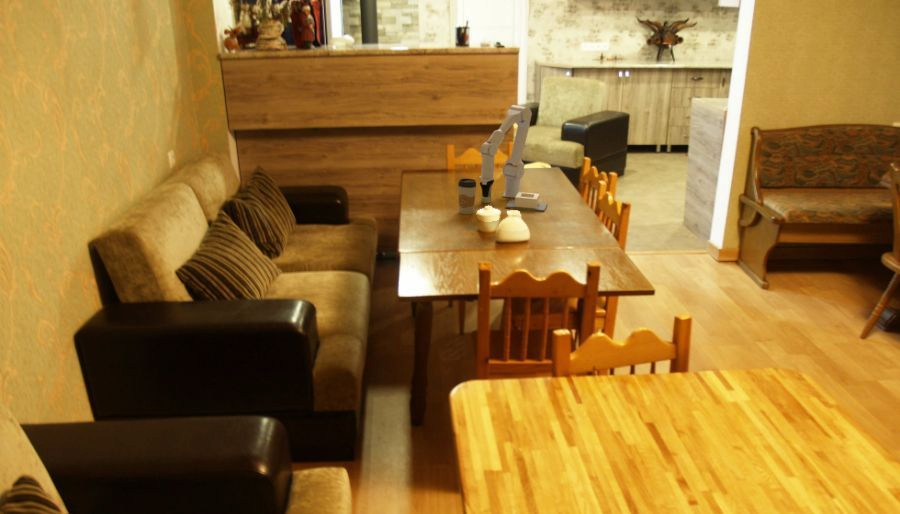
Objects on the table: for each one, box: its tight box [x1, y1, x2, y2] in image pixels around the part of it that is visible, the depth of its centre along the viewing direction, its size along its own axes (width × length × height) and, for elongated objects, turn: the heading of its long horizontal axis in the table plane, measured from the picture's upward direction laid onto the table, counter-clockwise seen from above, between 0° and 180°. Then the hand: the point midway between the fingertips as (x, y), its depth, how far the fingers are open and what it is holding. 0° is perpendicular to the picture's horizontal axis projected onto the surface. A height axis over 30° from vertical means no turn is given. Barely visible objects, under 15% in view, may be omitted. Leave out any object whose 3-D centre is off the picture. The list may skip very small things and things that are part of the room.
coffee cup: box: [457, 178, 477, 215], centre depth 312 cm, size 8×8×15 cm
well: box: [505, 191, 548, 213], centre depth 326 cm, size 12×18×6 cm, turn 76°
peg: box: [480, 184, 493, 204], centre depth 331 cm, size 4×4×8 cm
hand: (486, 195), depth 332 cm, fingers closed on peg, 4 cm apart
